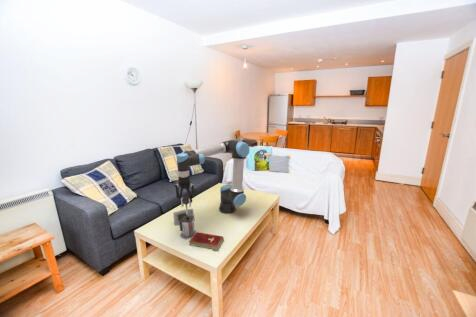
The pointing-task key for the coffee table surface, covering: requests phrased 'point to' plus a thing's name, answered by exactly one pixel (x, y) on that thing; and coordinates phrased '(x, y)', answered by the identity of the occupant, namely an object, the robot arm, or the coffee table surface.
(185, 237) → the trivet
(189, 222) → the grey blocky piece
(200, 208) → the coffee table surface
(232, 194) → the robot arm
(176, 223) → the digital clock
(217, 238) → the hardcover book
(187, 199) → the ball knob lever
